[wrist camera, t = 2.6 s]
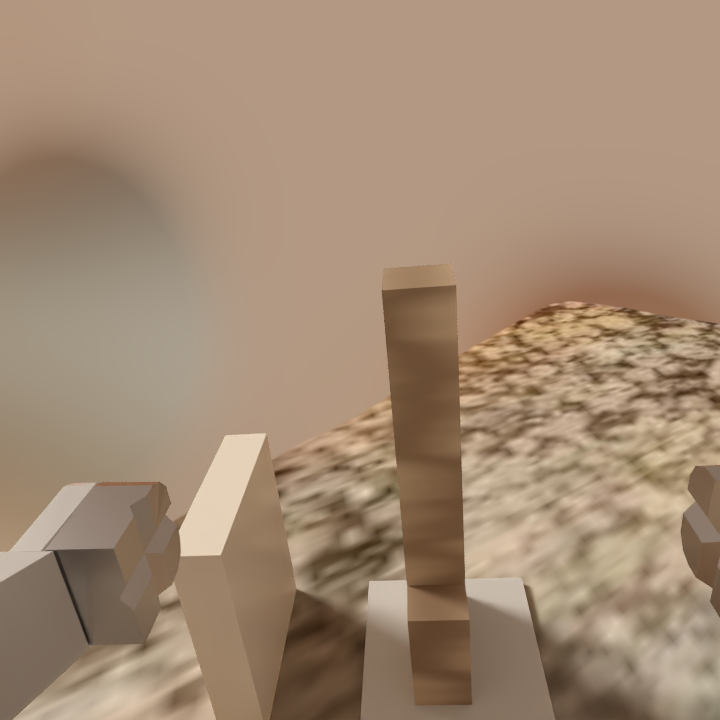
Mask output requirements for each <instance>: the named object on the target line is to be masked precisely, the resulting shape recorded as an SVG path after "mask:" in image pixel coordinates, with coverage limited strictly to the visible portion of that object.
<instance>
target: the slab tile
mask: <svg viewBox="0 0 720 720" xmlns="http://www.w3.org/2000/svg"><path fill="white" fill-rule="evenodd" d="M179 536H180V545H181V555H180V561H179V567H178V571H177V574H176V576H175V578H174V583H175V586H176V589H177V592H178V596H179V599H180V602H181V606H182V609H183V612H184V615H185V619H186V622H187V625H188V628H189V632H190V635H191V638H192V641H193V645H194V648H195V651H196V654H197V658H198V661H199V664H200V668H201V671H202V674H203V677H204V681H205V684H206V687H207V690H208V694H209V697H210V700H211V703H212V707H213V710H214V713H215V716H216V720H270V716H271V711H272V706H273V701H274V696H275V692H276V687H277V682H278V677H279V672H280V667H281V662H282V657H283V652H284V647H285V643H286V638H287V633H288V628H289V623H290V618H291V613H292V608H293V603H294V599H295V594H296V584H295V579H294V574H293V568H292V563H291V558H290V553H289V548H288V542H287V537H286V532H285V527H284V521H283V516H282V511H281V506H280V501H279V495H278V490H277V485H276V480H275V475H274V469H273V464H272V459H271V454H270V449H269V444H268V438H267V434H266V433H264V434H244V435H226V436H225V438H224V440H223V442H222V444H221V446H220V448H219V450H218V452H217V454H216V456H215V458H214V460H213V462H212V464H211V467H210V469H209V471H208V473H207V475H206V477H205V479H204V481H203V483H202V486H201V487H200V489H199V491H198V493H197V495H196V497H195V499H194V501H193V503H192V506H191V508H190V510H189V512H188V514H187V516H186V518H185V520H184V522H183V524H182V526H181V528H180V530H179Z"/></svg>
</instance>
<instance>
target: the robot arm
mask: <svg viewBox="0 0 720 720" xmlns="http://www.w3.org/2000/svg"><path fill="white" fill-rule="evenodd" d="M688 490H689V492H690V493H691V495H692V496H693V498H694V499H695V501H696V502H695V503H694V504H692V505H691V506H690V507H689V508H688V509H687V510H686V511H685V512H684V513H683V519H682V526H681V537H682V545H683V551H684V554H685V557H686V559H687V562H688V565H689V566H690V568H691V570H692V572H693V573H694V575H695V577H696V578H698V579H699V580H701V581H702V582H704V583H705V584H707V585H709V586H710V587H712V588H713V590H712V595H711V600H710V602H711V604H712V606H713V607H714V609H715V610H716V612H717V614H718V615H719V617H720V465H713V466H695V468H694V470H693V471H692V473H691V475H690V479H689V485H688ZM170 504H171V501H170V499H169V495H168V492H167V488H166V486H164V485H163V484H162V483H160V482H102V483H72V484H69V485H67V486H64V487H63V488H62V490H61V491H60V492H59V493H58V494H57V495H56V497H55V498H54V499H53V500H52V501H51V503H50V504H49V505H48V506H47V507H46V509H45V510H44V511H43V512H42V513H41V515H40V516H39V517H38V518H37V519H36V520H35V522H34V523H33V524H32V525H31V526H30V528H29V529H28V530H27V531H26V532H25V533H24V535H23V536H22V537H21V538H20V539H19V541H18V542H17V543H16V544H15V546H14V547H13V548H12V549H11V550H10V551H9V552H0V720H12V719H13V718H14V717H16V716H17V715H18V714H19V713H20V712H21V711H22V710H23V709H24V708H25V707H26V706H28V705H29V704H30V703H31V702H32V701H33V700H34V699H35V698H36V697H37V696H38V695H40V694H41V693H42V692H43V691H44V690H45V689H46V688H47V687H48V686H49V685H51V684H52V683H53V682H54V681H55V680H56V679H57V678H58V677H59V676H60V675H61V674H63V673H64V672H65V671H66V670H67V669H68V668H69V667H70V666H71V665H72V664H73V663H75V662H76V661H77V660H78V659H79V658H80V657H81V656H82V655H83V654H84V653H85V652H87V651H88V650H89V649H90V647H89V645H117V644H145V642H146V640H147V638H148V635H149V633H150V631H151V629H152V627H153V625H154V622H155V620H156V618H157V616H158V614H159V612H160V609H161V604H160V601H159V597H158V595H159V594H161V593H162V592H163V591H164V590H166V589H167V588H168V587H170V586H171V585H172V583H173V581H174V578H175V576H176V574H177V571H178V567H179V561H180V555H181V545H180V536H179V532H178V528H177V525H176V524H175V523H174V522H173V521H171V520H170V519H169V518H168V517H167V516H166V515H165V514H166V512H167V510H168V508H169V506H170Z"/></svg>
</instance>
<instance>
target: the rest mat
mask: <svg viewBox="0 0 720 720" xmlns="http://www.w3.org/2000/svg"><path fill="white" fill-rule="evenodd" d="M465 587H466V595H467V603H468V612H469V620H470V655H471V692H472V705H415V700H414V689H413V678H412V666H411V655H410V644H409V632H408V621H407V580H400V581H369V593H368V609H367V624H366V640H365V656H364V671H363V687H362V703H361V718H360V720H555V715H554V711H553V707H552V703H551V699H550V694H549V690H548V686H547V682H546V678H545V673H544V669H543V665H542V661H541V657H540V652H539V648H538V644H537V640H536V636H535V631H534V627H533V623H532V619H531V615H530V610H529V606H528V602H527V598H526V594H525V589H524V585H523V581H522V577H521V578H480V579H465Z"/></svg>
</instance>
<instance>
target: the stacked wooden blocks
mask: <svg viewBox="0 0 720 720" xmlns="http://www.w3.org/2000/svg"><path fill="white" fill-rule="evenodd" d="M382 298H383V310H384V322H385V334H386V345H387V357H388V369H389V380H390V392H391V404H392V415H393V427H394V439H395V450H396V462H397V474H398V485H399V497H400V509H401V520H402V532H403V544H404V555H405V567H406V579H407V621H408V632H409V644H410V655H411V666H412V678H413V689H414V700H415V705H472V692H471V655H470V620H469V612H468V603H467V595H466V587H465V564H464V531H463V499H462V466H461V433H460V400H459V368H458V336H457V303H456V283H455V279H454V275H453V271H452V268H451V264H441V265H427V266H414V267H401V268H388V269H384V271H383V282H382Z"/></svg>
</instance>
